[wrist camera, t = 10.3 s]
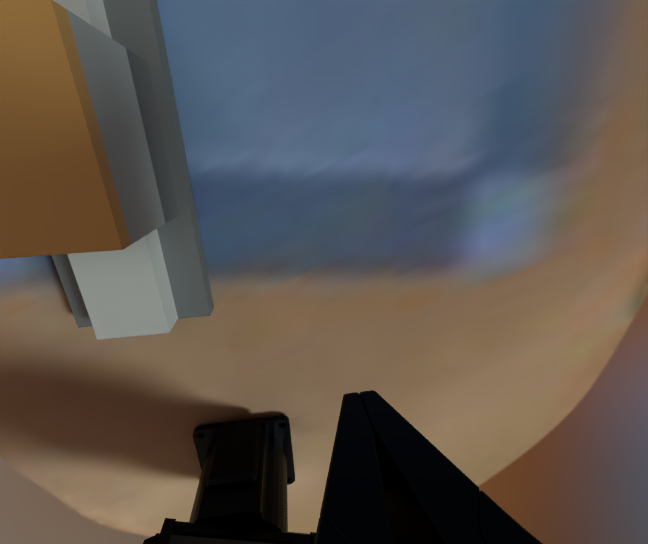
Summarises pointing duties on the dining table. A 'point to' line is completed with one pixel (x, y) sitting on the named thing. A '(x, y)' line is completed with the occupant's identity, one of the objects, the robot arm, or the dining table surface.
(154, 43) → the rail
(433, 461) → the robot arm
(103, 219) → the block
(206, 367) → the dining table surface
